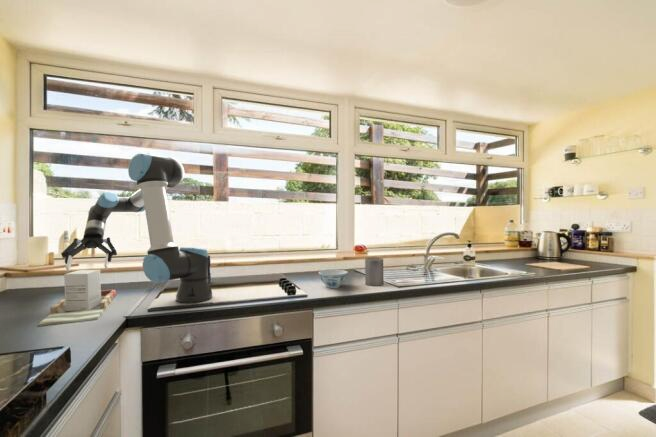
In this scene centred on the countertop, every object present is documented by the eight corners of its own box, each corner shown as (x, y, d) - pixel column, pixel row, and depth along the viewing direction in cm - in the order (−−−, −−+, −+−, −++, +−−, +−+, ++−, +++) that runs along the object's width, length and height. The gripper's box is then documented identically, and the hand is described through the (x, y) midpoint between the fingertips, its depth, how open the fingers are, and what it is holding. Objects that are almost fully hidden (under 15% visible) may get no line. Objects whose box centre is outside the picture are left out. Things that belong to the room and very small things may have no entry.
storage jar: (199, 286, 171) (198, 258, 171) (187, 284, 176) (187, 256, 176) (214, 282, 180) (214, 255, 179) (203, 281, 185) (202, 254, 185)
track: (72, 298, 149) (72, 291, 149) (116, 294, 156) (116, 288, 156) (38, 326, 112) (38, 317, 112) (97, 319, 119) (97, 311, 119)
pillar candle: (370, 281, 181) (370, 254, 181) (386, 283, 175) (386, 255, 175) (361, 284, 173) (361, 256, 173) (378, 287, 168) (378, 258, 167)
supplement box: (79, 305, 138) (78, 269, 138) (101, 304, 139) (101, 269, 139) (64, 311, 129) (63, 273, 129) (88, 310, 130) (87, 273, 130)
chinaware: (352, 285, 171) (352, 271, 171) (338, 291, 159) (338, 275, 159) (328, 282, 179) (328, 268, 179) (312, 287, 167) (312, 272, 167)
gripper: (126, 236, 163) (121, 271, 149) (63, 237, 152) (53, 275, 139) (124, 225, 158) (119, 261, 144) (59, 227, 147) (48, 265, 134)
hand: (87, 268), depth 142 cm, fingers open, 13 cm apart
